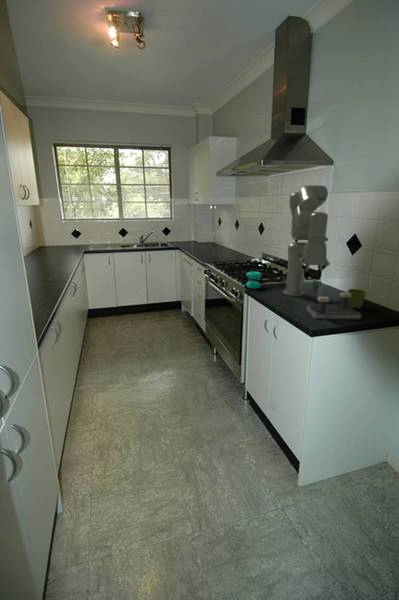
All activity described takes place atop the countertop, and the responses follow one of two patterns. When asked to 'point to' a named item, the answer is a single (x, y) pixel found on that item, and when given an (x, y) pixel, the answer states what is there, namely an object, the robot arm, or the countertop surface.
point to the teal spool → (253, 283)
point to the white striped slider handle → (345, 299)
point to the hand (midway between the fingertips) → (312, 278)
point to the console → (333, 312)
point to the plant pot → (356, 297)
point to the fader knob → (322, 304)
